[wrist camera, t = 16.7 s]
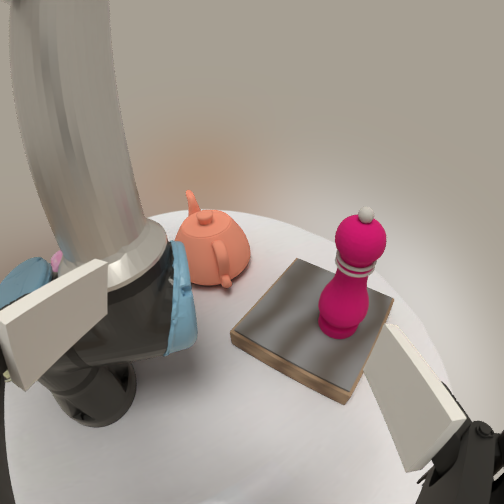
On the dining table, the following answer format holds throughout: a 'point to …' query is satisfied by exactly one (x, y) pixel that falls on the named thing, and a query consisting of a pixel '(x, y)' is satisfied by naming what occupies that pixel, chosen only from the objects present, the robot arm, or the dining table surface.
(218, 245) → the teapot
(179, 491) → the dining table surface
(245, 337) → the walnut stand
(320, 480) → the dining table surface
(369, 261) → the pepper mill
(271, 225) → the dining table surface
